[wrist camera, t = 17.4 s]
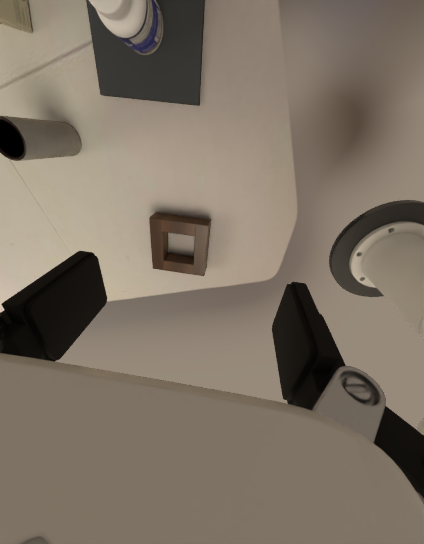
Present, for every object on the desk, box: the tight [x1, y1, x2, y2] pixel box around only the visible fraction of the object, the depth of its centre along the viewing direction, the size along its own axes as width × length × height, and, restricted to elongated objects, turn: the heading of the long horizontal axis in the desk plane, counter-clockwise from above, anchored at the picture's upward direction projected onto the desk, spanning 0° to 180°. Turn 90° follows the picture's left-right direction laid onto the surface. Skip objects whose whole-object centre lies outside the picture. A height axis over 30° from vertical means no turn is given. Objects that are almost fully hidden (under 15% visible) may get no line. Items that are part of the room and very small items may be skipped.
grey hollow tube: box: [0, 116, 81, 161], centre depth 29 cm, size 4×4×10 cm
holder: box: [149, 213, 211, 276], centre depth 39 cm, size 10×10×3 cm
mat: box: [86, 0, 205, 106], centre depth 25 cm, size 14×14×1 cm
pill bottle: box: [89, 0, 163, 55], centre depth 21 cm, size 5×5×9 cm
